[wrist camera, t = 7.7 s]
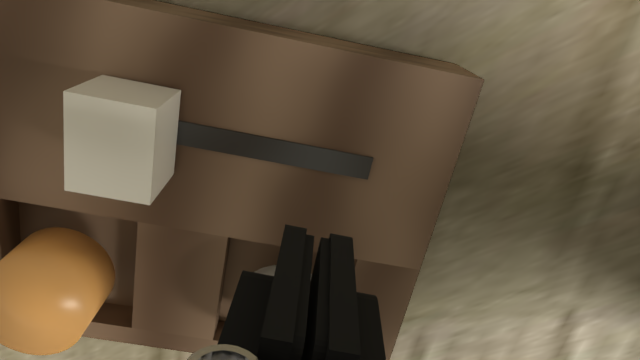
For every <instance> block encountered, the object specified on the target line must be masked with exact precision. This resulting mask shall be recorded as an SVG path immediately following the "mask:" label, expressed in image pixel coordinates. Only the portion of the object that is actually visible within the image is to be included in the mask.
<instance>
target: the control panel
mask: <svg viewBox="0 0 640 360" xmlns="http://www.w3.org/2000/svg"><path fill="white" fill-rule="evenodd" d="M101 75H107V76H112V77H117V78H122V79H127V80H132V81H137V82H142V83H147V84H153V85H158V86H163V87H168V88H173V89H178V90H181V97H180V109H179V120H178V131H177V143H176V154H175V166H174V174H173V176H172V177H171V178H170V180H169V181H168V182H167V184H166V185H165V186H164V188H163V189H162V190H161V192H160V193H159V194H158V196H157V197H156V198H155V200H154V201H153V202H152V203H151V205H145V204H139V203H134V202H128V201H122V200H116V199H111V198H105V197H99V196H93V195H88V194H82V193H76V192H70V191H65V190H64V118H63V91H65V90H67V89H69V88H72V87H74V86H77V85H79V84H81V83H84V82H86V81H89V80H91V79H93V78H96V77H98V76H101ZM483 82H484V79H482V78H480V77H478V76H476V75H475V74H473V73H471V72H469V71H467V70H466V69H464V68H462V67H460V66H458V65H457V64H453V63H448V62H444V61H439V60H434V59H429V58H425V57H420V56H415V55H410V54H406V53H401V52H396V51H392V50H387V49H382V48H377V47H373V46H368V45H363V44H358V43H354V42H349V41H344V40H340V39H335V38H330V37H325V36H321V35H316V34H311V33H306V32H302V31H297V30H292V29H288V28H283V27H278V26H273V25H269V24H264V23H259V22H254V21H250V20H245V19H240V18H235V17H231V16H226V15H221V14H217V13H212V12H207V11H202V10H198V9H193V8H188V7H183V6H179V5H174V4H169V3H165V2H160V1H155V0H0V260H1V259H2V258H4V257H5V256H6V255H7V254H8V253H9V252H10V251H12V250H13V249H14V248H15V247H16V246H17V245H19V244H20V243H21V242H22V241H23V240H24V239H25V238H27V237H28V236H29V235H30V234H32V233H34V232H36V231H38V230H41V229H45V228H51V227H61V228H68V229H73V230H76V231H79V232H81V233H83V234H85V235H87V236H89V237H91V238H92V239H94V240H95V241H96V242H98V243H99V244H100V245H101V246H102V247H103V248H104V249H105V251H106V252H107V253H108V255H109V256H110V258H111V260H112V262H113V265H114V269H115V283H114V287H113V289H112V291H111V293H110V294H109V296H108V297H107V299H106V300H105V302H104V303H103V305H102V306H101V308H100V309H99V311H98V312H97V314H96V315H95V317H94V318H93V320H92V321H91V323H90V324H89V326H88V327H87V329H86V330H85V332H84V333H83V334H82V336H83V337H90V338H96V339H103V340H110V341H117V342H123V343H130V344H137V345H144V346H150V347H157V348H164V349H171V350H177V351H184V352H191V353H195V352H196V351H198V350H200V349H201V348H204V347H208V346H211V345H217V344H218V341H219V338H220V335H221V332H222V329H223V326H224V323H225V320H226V317H227V314H228V311H229V308H230V305H231V303H232V300H233V297H234V294H235V291H236V288H237V285H238V282H239V279H240V276H241V273H242V271H243V270H244V271H249V272H255V271H257V270H259V269H261V268H264V267H267V266H272V265H276V264H277V260H278V255H279V251H280V246H281V242H282V237H283V232H284V228H285V224H286V225H292V226H297V227H302V228H307V232H306V234H307V235H312V236H314V246H313V258H312V269H311V274H312V272H313V268H314V264H315V259H316V255H317V251H318V247H319V242H320V239H321V237H323V238H328V239H329V236H330V233H333V234H338V235H343V236H348V237H352V238H353V249H354V263H355V277H356V292H360V293H365V294H371V295H375V296H377V299H378V304H379V312H380V319H381V326H382V333H383V341H384V348H385V355H386V360H390V357H391V354H392V351H393V348H394V345H395V342H396V339H397V336H398V333H399V330H400V327H401V324H402V321H403V319H404V316H405V313H406V310H407V307H408V304H409V301H410V298H411V295H412V292H413V289H414V286H415V283H416V280H417V277H418V274H419V271H420V268H421V265H422V262H423V259H424V257H425V254H426V251H427V248H428V245H429V242H430V239H431V236H432V233H433V230H434V227H435V224H436V221H437V218H438V215H439V212H440V209H441V206H442V203H443V200H444V197H445V195H446V192H447V189H448V186H449V183H450V180H451V177H452V174H453V171H454V168H455V165H456V162H457V159H458V156H459V153H460V150H461V147H462V144H463V141H464V138H465V136H466V133H467V130H468V127H469V124H470V121H471V118H472V115H473V112H474V109H475V106H476V103H477V100H478V97H479V94H480V91H481V88H482V85H483Z"/></svg>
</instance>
